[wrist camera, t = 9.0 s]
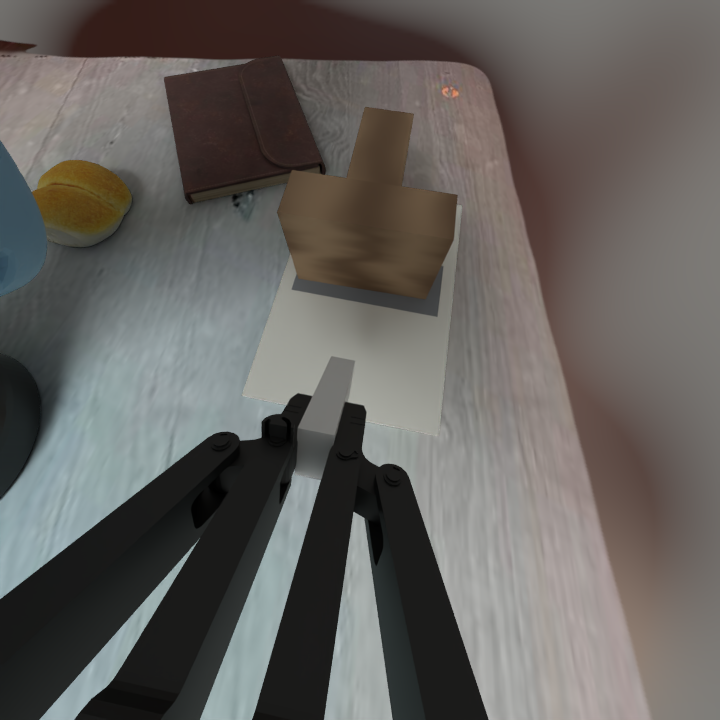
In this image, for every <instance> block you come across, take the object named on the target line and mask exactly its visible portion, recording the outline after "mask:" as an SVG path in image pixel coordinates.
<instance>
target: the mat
mask: <svg viewBox="0 0 720 720" xmlns="http://www.w3.org/2000/svg"><path fill="white" fill-rule="evenodd" d="M461 214H462V205H457V208H456V221H455V233H454V241H453V243H452V245H451V247H450V249H449V251H448V253H447V255H446V258H445V260H444V262H443V264H442V266H441V268H440V270H439V272H438V274H437V276H436V278H435V281H434V283H433V285H432V287H431V289H430V291H429V293H428V295H427V297H426V299H419V298H413V297H407V296H401V295H395V294H389V293H383V292H377V291H371V290H364V289H358V288H352V287H346V286H340V285H334V284H328V283H322V282H316V281H310V280H303V279H298V276H297V273H296V269H295V266H294V263H293V260H292V257H291V254H290V256H289V259H288V261H287V264H286V267H285V270H284V273H283V276H282V279H281V282H280V285H279V288H278V291H277V294H276V296H275V299H274V302H273V305H272V308H271V311H270V314H269V317H268V320H267V323H266V326H265V329H264V332H263V334H262V337H261V340H260V343H259V346H258V349H257V352H256V355H255V358H254V361H253V364H252V367H251V370H250V372H249V375H248V378H247V381H246V384H245V387H244V390H243V393H242V396H244V397H249V398H254V399H259V400H263V401H268V402H273V403H278V404H283V405H287V404H288V402H289V400H290V398H291V397H293V396H294V395H296V394H297V393H300V394H305V395H310V396H313V394H314V392H315V390H316V388H317V386H318V384H319V381H320V379H321V377H322V375H323V373H324V371H325V369H326V366H327V364H328V362H329V360H330V358H331V356H333V357H339V358H344V359H349V360H354V361H355V366H354V371H353V377H352V383H351V389H350V395H349V400H348V402H349V403H354V404H359V405H364V407H365V409H366V412H367V414H366V422H371V423H376V424H381V425H385V426H390V427H395V428H400V429H405V430H410V431H415V432H420V433H424V434H429V435H434V436H439V430H440V420H441V410H442V401H443V391H444V381H445V371H446V361H447V352H448V342H449V332H450V322H451V312H452V302H453V293H454V283H455V273H456V263H457V253H458V243H459V234H460V224H461Z"/></svg>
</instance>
